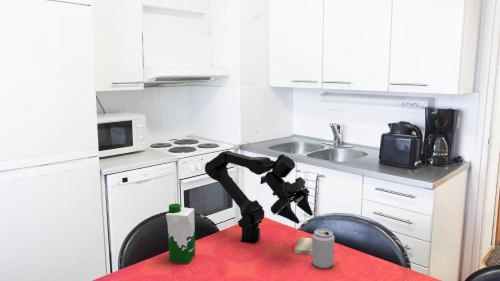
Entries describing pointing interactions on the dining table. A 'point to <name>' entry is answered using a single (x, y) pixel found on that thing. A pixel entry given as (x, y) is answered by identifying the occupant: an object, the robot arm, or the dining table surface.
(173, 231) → the milk carton
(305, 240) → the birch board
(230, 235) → the dining table surface
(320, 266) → the can
